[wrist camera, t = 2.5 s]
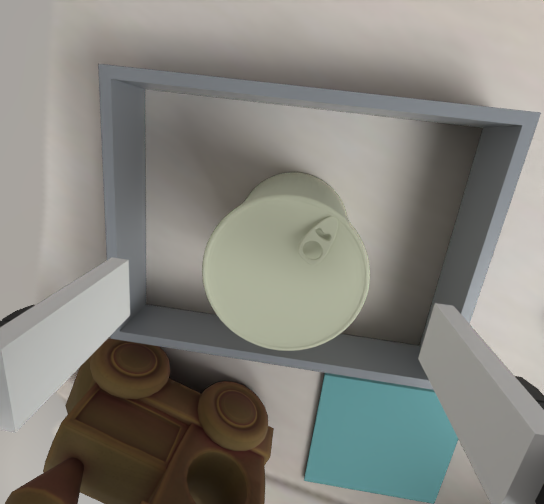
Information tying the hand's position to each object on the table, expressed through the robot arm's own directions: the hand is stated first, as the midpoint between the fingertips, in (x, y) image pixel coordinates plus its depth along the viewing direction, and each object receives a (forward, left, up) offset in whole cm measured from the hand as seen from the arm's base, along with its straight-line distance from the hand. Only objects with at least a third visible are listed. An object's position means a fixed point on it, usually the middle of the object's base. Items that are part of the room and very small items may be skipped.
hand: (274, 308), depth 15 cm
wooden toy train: (-20, +9, -16) cm, 27 cm away
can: (0, 0, -16) cm, 16 cm away
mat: (-21, -12, -15) cm, 29 cm away
